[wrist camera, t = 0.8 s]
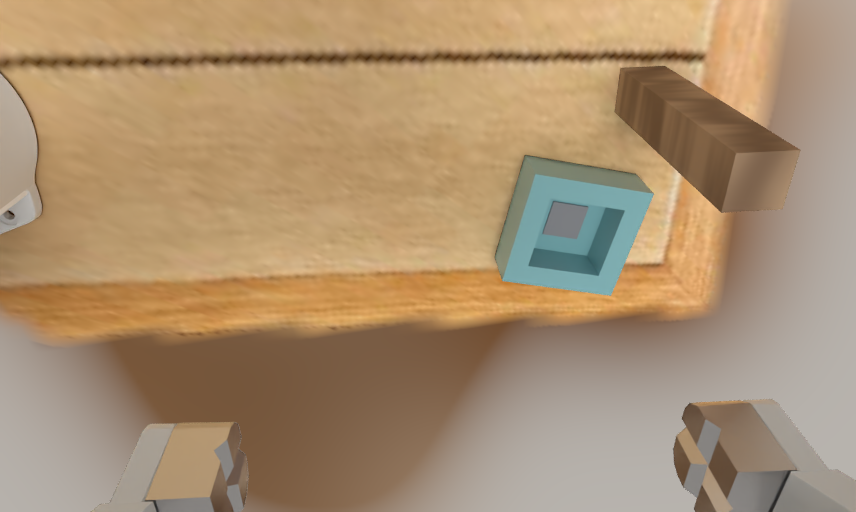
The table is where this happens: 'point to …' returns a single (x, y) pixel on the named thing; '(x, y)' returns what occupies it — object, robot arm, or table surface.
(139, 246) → the table surface
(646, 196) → the light blue square container
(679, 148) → the wooden block
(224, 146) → the table surface
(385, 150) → the table surface
